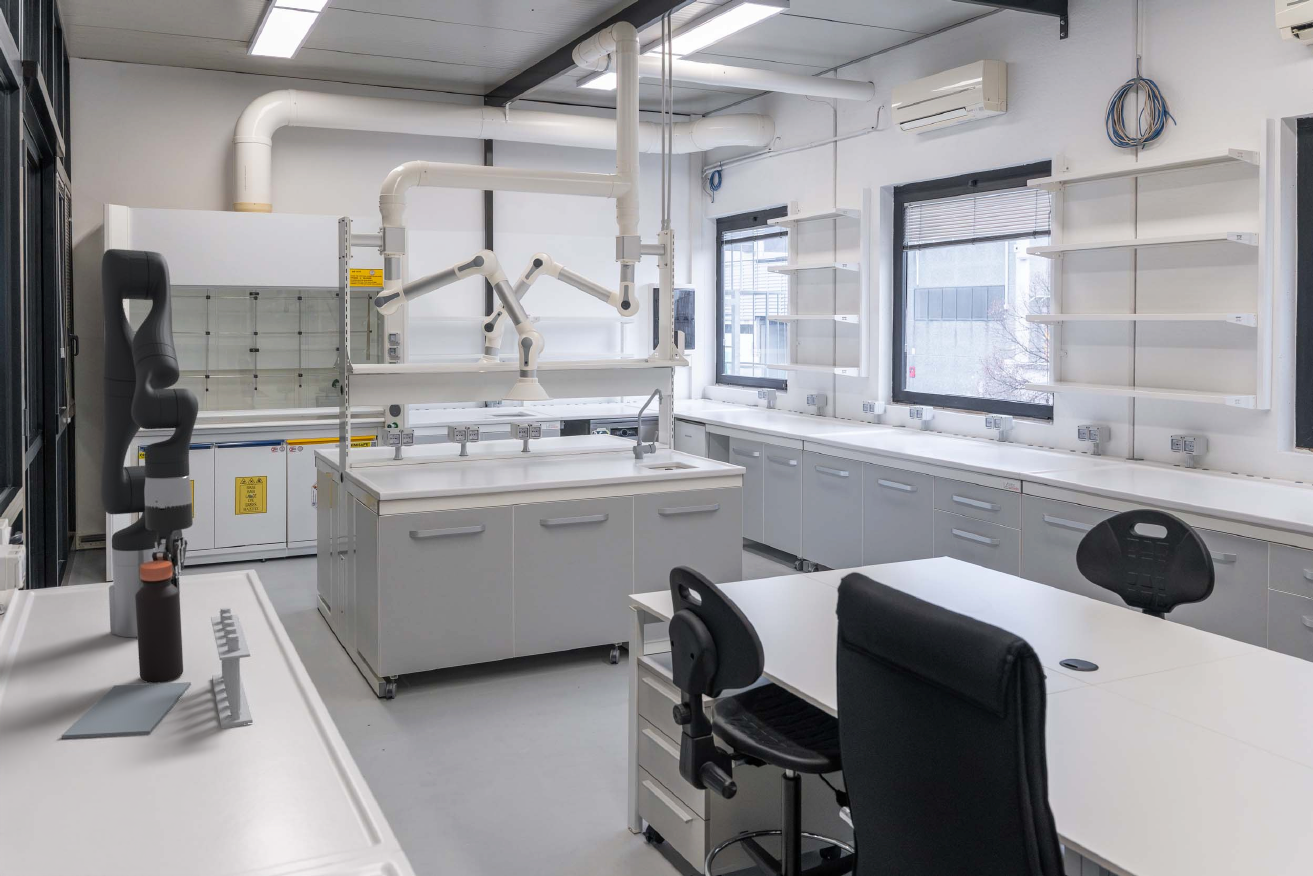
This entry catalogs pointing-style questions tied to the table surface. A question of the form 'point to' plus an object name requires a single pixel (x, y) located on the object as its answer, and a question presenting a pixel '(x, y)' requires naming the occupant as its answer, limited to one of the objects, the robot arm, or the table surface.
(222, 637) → the test tube rack
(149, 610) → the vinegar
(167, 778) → the table surface
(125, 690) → the slate mat
